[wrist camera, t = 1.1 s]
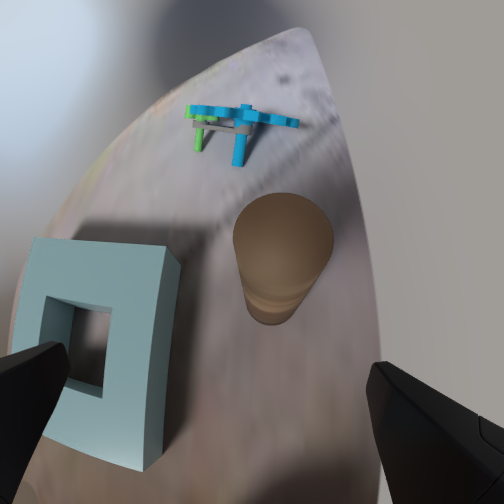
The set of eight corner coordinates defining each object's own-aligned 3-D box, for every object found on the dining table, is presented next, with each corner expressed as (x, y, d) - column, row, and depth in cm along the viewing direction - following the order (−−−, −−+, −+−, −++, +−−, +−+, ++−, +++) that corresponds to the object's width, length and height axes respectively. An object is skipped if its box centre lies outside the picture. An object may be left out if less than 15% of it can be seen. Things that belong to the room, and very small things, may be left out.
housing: (162, 455, 19) (142, 472, 15) (39, 413, 20) (8, 416, 16) (181, 266, 25) (166, 246, 21) (60, 255, 25) (34, 237, 21)
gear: (310, 117, 28) (283, 106, 20) (300, 171, 31) (270, 184, 22) (214, 103, 31) (160, 95, 23) (207, 152, 34) (153, 160, 25)
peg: (282, 334, 23) (307, 304, 11) (236, 310, 23) (213, 255, 12) (305, 289, 24) (347, 218, 12) (261, 267, 25) (262, 178, 13)
